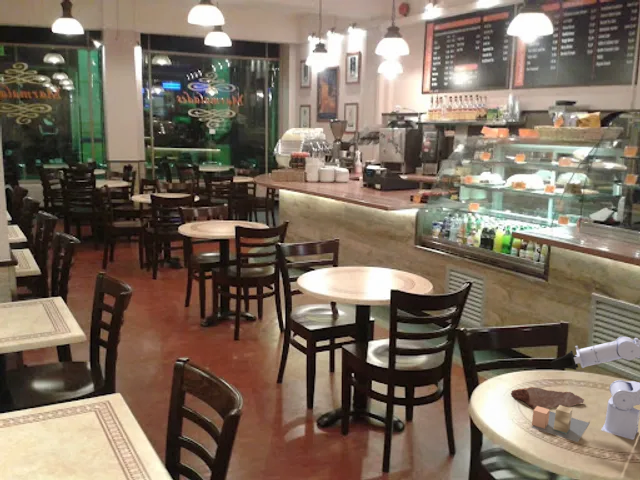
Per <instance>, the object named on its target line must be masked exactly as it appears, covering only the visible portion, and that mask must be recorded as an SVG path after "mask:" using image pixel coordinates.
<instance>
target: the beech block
mask: <svg viewBox="0 0 640 480" xmlns="http://www.w3.org/2000/svg"><path fill="white" fill-rule="evenodd" d="M555 413H556V414H555V422H554V430H555V431H558V432H562V433H565V434H567V433H568V431H569V430H570V424H571V418H573V417H572V415H573V408H572V407H569V406H561V405H559V406H558V407H556V409H555Z"/></svg>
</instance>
